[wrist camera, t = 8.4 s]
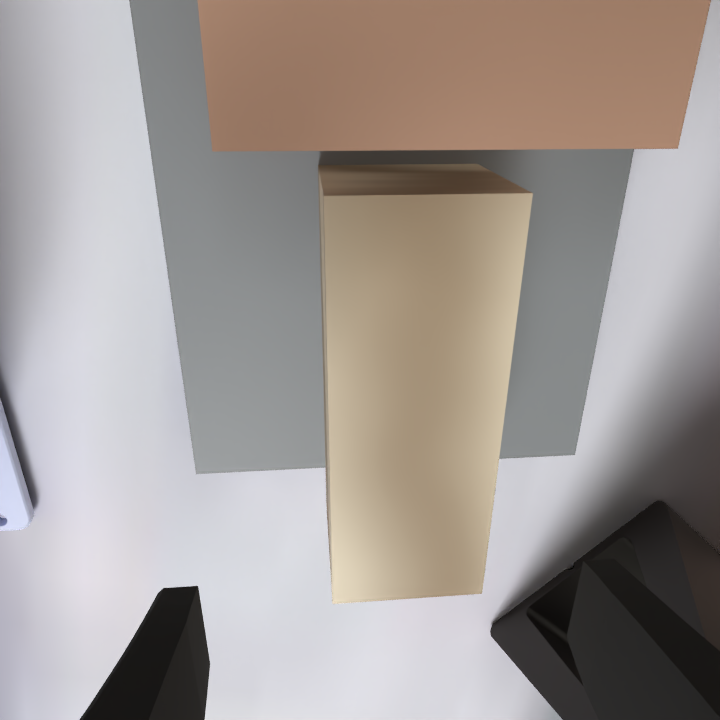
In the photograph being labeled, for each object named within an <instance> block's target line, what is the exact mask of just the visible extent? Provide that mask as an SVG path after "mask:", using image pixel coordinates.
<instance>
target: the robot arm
mask: <svg viewBox="0 0 720 720" xmlns="http://www.w3.org/2000/svg"><path fill="white" fill-rule="evenodd" d="M0 514H1V515H3V516H5V517H6V518H1V517H0V531H8V530H20V529H24V528H26V527H28V526H29V524H30V522H31V521H32V519H33V517H34V510H33V507H32V503H31V500H30V497H29V493H28V490H27V486H26V483H25V480H24V476H23V473H22V469H21V466H20V463H19V459H18V456H17V453H16V449H15V446H14V442H13V439H12V436H11V432H10V429H9V426H8V422H7V419H6V415H5V412H4V409H3V405H2V402H1V398H0ZM567 639H568V642H569V645H570V648H571V651H572V654H573V657H574V660H575V663H576V666H577V669H578V672H579V675H580V677H581V680H582V683H583V686H584V688H585V691H586V694H587V696H588V698H589V700H590V702H591V704H592V707H593V709H594V711H595V713H596V715H597V717H598V719H599V720H720V651H719V650H718V649H717V648H716V647H714V646H713V645H712V644H711V643H710V642H709V641H707V640H706V639H705V638H704V637H703V636H702V635H700V634H699V633H698V632H697V631H696V630H695V629H693V628H692V627H691V626H690V625H689V624H688V623H686V622H685V621H684V620H683V619H682V618H681V617H680V616H678V615H677V614H676V613H675V612H674V611H673V610H672V609H671V608H669V607H668V606H667V605H666V604H665V603H664V602H663V601H662V600H660V599H659V598H658V597H657V596H656V595H655V594H654V593H653V592H651V591H650V590H649V589H648V588H647V587H646V586H645V585H644V584H642V583H641V582H640V581H639V580H638V579H637V578H636V577H635V576H634V575H632V574H631V573H630V572H629V571H628V570H627V569H626V568H624V567H623V566H622V565H621V564H620V563H619V562H617V561H616V560H615V559H602V560H587V561H583V565H582V569H581V574H580V578H579V583H578V587H577V592H576V596H575V601H574V605H573V610H572V614H571V619H570V623H569V628H568V632H567ZM209 668H210V661H209V654H208V648H207V641H206V635H205V629H204V622H203V616H202V609H201V603H200V596H199V590H198V586H191V587H176V588H163V589H162V590H161V591H160V592H159V593H158V594H157V596H156V598H155V600H154V602H153V604H152V605H151V607H150V609H149V611H148V613H147V614H146V616H145V618H144V620H143V621H142V623H141V625H140V627H139V628H138V630H137V632H136V633H135V635H134V637H133V638H132V640H131V642H130V643H129V645H128V647H127V648H126V650H125V652H124V653H123V655H122V656H121V658H120V660H119V661H118V663H117V664H116V666H115V667H114V669H113V671H112V672H111V674H110V675H109V677H108V678H107V680H106V681H105V683H104V684H103V686H102V687H101V689H100V690H99V692H98V694H97V695H96V697H95V698H94V700H93V701H92V703H91V704H90V706H89V707H88V709H87V710H86V711H85V713H84V714H83V716H82V717H81V718H80V720H204V719H205V709H206V700H207V689H208V679H209Z"/></svg>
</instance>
